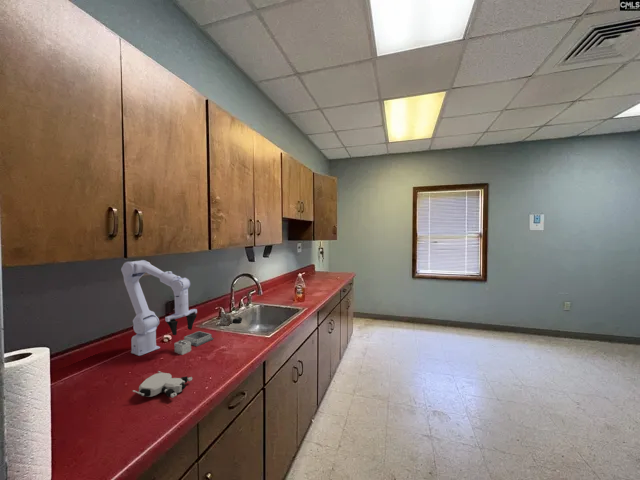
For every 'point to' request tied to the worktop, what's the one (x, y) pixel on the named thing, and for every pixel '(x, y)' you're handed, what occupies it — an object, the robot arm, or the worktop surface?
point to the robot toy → (162, 385)
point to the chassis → (198, 338)
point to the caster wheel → (229, 319)
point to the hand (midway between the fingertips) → (182, 332)
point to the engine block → (182, 347)
